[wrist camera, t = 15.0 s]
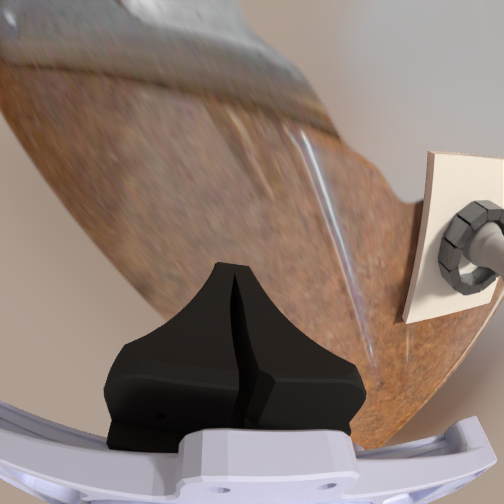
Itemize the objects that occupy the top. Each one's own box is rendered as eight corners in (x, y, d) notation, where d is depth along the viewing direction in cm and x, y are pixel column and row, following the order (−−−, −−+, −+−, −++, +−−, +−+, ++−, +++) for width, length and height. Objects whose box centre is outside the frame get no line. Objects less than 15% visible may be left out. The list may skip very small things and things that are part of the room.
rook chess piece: (498, 225, 22) (553, 268, 15) (475, 264, 24) (524, 313, 17) (475, 206, 21) (537, 250, 14) (451, 250, 23) (505, 303, 16)
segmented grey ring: (489, 276, 25) (500, 286, 23) (430, 288, 24) (440, 301, 23) (508, 199, 21) (522, 208, 19) (447, 201, 20) (461, 210, 19)
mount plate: (485, 297, 27) (489, 302, 26) (401, 317, 27) (405, 323, 26) (517, 159, 20) (524, 162, 19) (427, 151, 20) (434, 153, 19)
